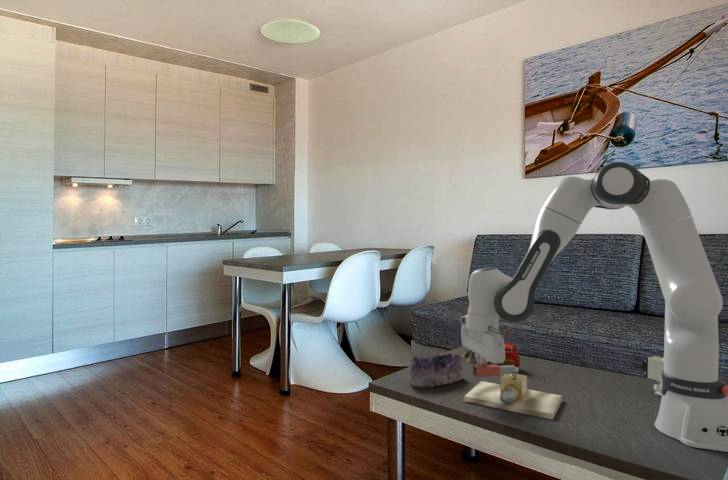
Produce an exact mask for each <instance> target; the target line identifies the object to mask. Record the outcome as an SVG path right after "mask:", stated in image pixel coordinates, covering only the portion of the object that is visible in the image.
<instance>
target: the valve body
mask: <svg viewBox="0 0 728 480" xmlns="http://www.w3.org/2000/svg"><path fill="white" fill-rule="evenodd" d="M499 383H500V399H501V401H502V402H503V403H504V404H506V405H510V404H511V403H512V402H516V400H517V401H522V400H523V399H524V397H525V396H526V395H527V387H528V386H527V385H528V375H524V374H519V373H517V376H516V377H513V376H511V374H502V375H501V377H500V382H499Z"/></svg>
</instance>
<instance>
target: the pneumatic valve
mask: <svg viewBox="0 0 728 480" xmlns="http://www.w3.org/2000/svg"><path fill="white" fill-rule="evenodd" d="M640 365H641V366H640V368H641V372H643V373H644V375H645V376H644V377H645V378H647V379H650V380H655V381H657V383H654V384H653V391H654V394H655V395H656V396H659V397H662V393H661V374H662V371H663V370H664V355H663V357H661V356H657V355H651V356H645V358H644V359H642V362H641V364H640Z"/></svg>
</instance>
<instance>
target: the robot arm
mask: <svg viewBox="0 0 728 480" xmlns="http://www.w3.org/2000/svg"><path fill="white" fill-rule="evenodd" d="M625 207H628V208H630V209H632V211H634V213H635V214H636V216H637V218H638V221H639V224H640V228H641V230H642V233H643V236H644V240H645V242H646V245H647V248H648V252H649V254H650V257H651V260H652V263H653V267H654V270H655V273H656V276H657V280H658V283H659V287H660V290H661V292H662V296H663V299H664V303H665V304H664V305H665V306H664V337H663V338H664V339H663V342H664V344H663V345H664V346H663V356H664V370H663V371H662V374H661V382H660V383H661V393H662V396H661V400H660V405H659V409H658V414H657V417H656V419H655V422H654V427H655V428H656V430H658V431H659V432H661V433H662V434H664V435H666V436H668V437H670V438H673V439H675V440H678V441H679V442H681V443H682V444H684V445H686V446H687V447H692V448H697V449H703V450H704V449H705V450H710V451H711V450H712V451H717V452H718V451H719V452H725V453H728V383H726V382H725V380H723V379H720V378H719V360H720V359H719V358H720V354H719V353H720V343H719V319H718V318H719V314H721V311H722V309H723V304H724V301H723V296H722V293H721V290H720V288H719V285H718V282H717V280H716V277H715V275H714V272H713V269H712V266H711V264H710V261H709V259H708V256H707V253H706V251H705V248H704V247H703V242H702V240H701V238H700V235H699V231H698V230H697V227H696V224H695V220H694V217H693V215H692V212H691V209H690V208H689V206H688V203H687V201H686V199H685V197H684V195H683V193H682V192H681V190H680V188H679V187H678V185H677V184H676V183H675V182H674V181H672V180H670V179H666V178H665V179H662V178H659V179H654V180H651V179H650V178H649V177H647V176H646V175H645V174H643V173H642V172H641V171H640V170H639V169H637V168H636V167H635V166H633V165H631V164H629V163H626V162H625V161H624V162H623V161H614V162H610V163H607V164H605V165H604V166H602V167H601V168H600V169H598V170H597V172H596V174H595V176H594V177H593V178H590V179H585V178H582V177H579V176H573V175H572V176H571V175H570V176H566V177H564V178H562V179H561V180H560V181H559V182H558V183H557V184H556V186H555V187H554V189H552V191H551V192H550V193H549V195H548V197H547V199H546V200H545V202H544V203H543V205H542V207H541V208H540V211H539V212H538V214H537V216H536V220H535V222H534V225H533V229H532V233H531V239H530V245H529V247H528V250H527V252H526V254H525V257H524V258H523V260H522V262H521V263H520V266H519V267H518V269H517V270H516V273H515V274H514V276H513V277H511V276H509V275H507V274H505V273H503V272H502V271H501V270H499V269H498V268H497V267H493V266H492V267H490V266H489V267H481V268H478V269H475V270H473V271H472V273H470V276H469V279H468V280H469V281H468V289H467V290H468V291H467V298H468V302H469V303H468V309H467V314H466V315H463V316H461V317H460V323H461V333H460V334H461V336H460V337H461V339H460V340H461V344H462V347H465V348H466V350H467V349H469V350H471V351H473V352H474V353H475V360H476V365H488V361H490V362H491V363H494V364H493V365H495V364H496V365H498V363H503V362H504V361H505V338H504V337H503V334H501V331H500V329H499V325H500V324H499V319H500V318H501V319H503V320H504V321H506V322H509V323H521V322H523V321H525V320H527V319H528V318H529V317H530V316H531V315H532V314H533V312H534V305H535V294H536V291H537V288H538V286H540V285H539V284H540V283H541V281H542V280H543V279H542V278H543V277H544V275H545V274H546V271H547V270H548V269H549V266H550V264H551V263H552V262H553V260H554V259H555V258H556V257H557V255H558V254H559V253H561V251H562V250H563V249H564V248H565V247H566V246H567V245H568V244H569V242H570V241H571V240H572V239H573V237H574V236H575V235H576V233H577V232H578V230H579V229H580V227H581V225H582V224H583V222H584V221H585V218H586V217H587V215H588V214H589V212H591V210H592V209H593V208H600V209H605V210H619V209H623V208H625Z"/></svg>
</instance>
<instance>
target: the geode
mask: <svg viewBox="0 0 728 480" xmlns="http://www.w3.org/2000/svg"><path fill="white" fill-rule="evenodd" d="M462 361H463V357H462V356H461V355H458V354H454V355H453V356H452V353H446V354H445V353H440V354H437V355H435V356H429V357H425V358H418V357H417V355H415V356H414V358H413V362H412V366H411V367H410V371H409V375H410V378H409V382H410V387H411V386H412V388H413V387H414V388H413V389H431V388H434V387H439V386H443V385H448V384H454V383H455V382H459V381H461V380H463V379H465V368H464V367H463V366H462Z"/></svg>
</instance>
